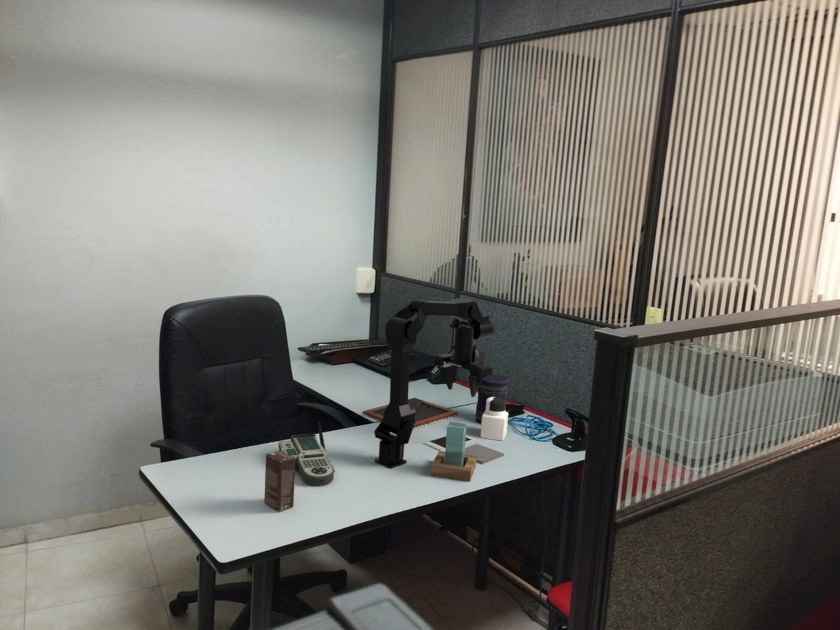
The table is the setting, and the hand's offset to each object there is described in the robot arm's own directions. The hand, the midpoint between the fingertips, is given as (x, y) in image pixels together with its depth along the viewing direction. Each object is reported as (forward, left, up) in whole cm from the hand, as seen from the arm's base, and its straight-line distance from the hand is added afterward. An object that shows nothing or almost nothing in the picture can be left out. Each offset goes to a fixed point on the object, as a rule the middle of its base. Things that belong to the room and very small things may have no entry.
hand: (461, 393), depth 202 cm
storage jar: (+23, +5, -15) cm, 28 cm away
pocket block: (-18, -14, -15) cm, 27 cm away
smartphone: (-2, +1, -16) cm, 16 cm away
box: (-65, -1, -15) cm, 67 cm away
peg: (-18, -14, -15) cm, 27 cm away
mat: (-3, -11, -15) cm, 19 cm away
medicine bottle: (+13, -4, -15) cm, 20 cm away
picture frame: (+7, +26, -16) cm, 32 cm away
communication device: (-47, +12, -16) cm, 51 cm away
